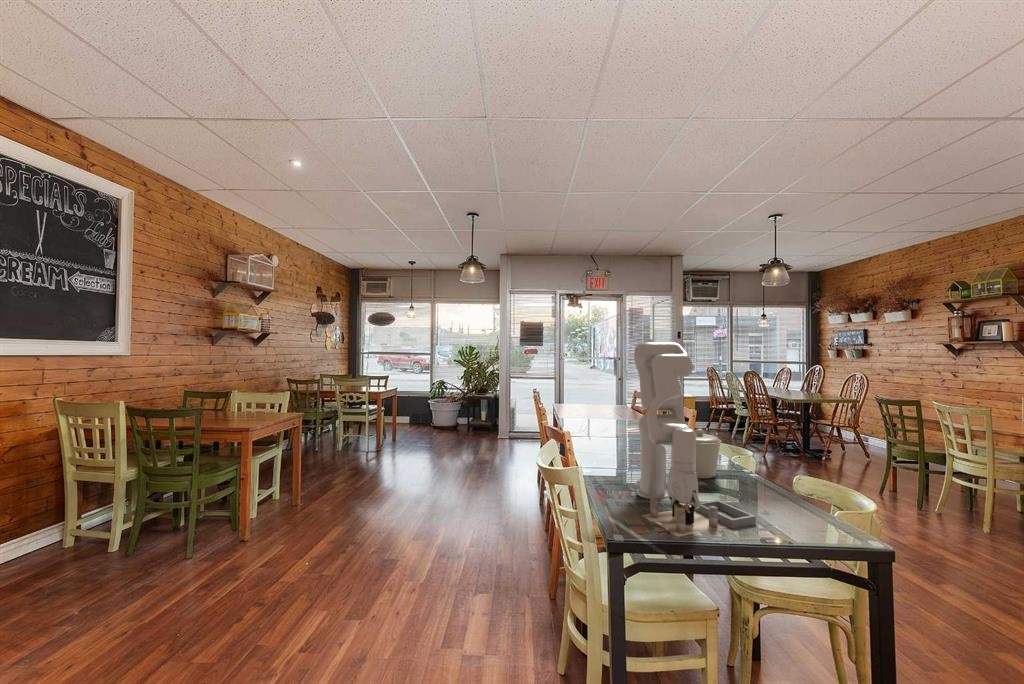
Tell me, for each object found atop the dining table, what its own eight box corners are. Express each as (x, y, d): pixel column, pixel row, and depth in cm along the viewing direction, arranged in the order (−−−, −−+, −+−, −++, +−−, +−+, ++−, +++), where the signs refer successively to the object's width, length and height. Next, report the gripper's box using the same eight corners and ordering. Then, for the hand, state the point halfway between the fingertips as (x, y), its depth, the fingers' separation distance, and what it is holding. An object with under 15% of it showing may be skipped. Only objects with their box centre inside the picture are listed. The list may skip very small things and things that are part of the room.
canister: (695, 483, 197) (695, 434, 196) (669, 471, 214) (670, 426, 214) (730, 479, 202) (731, 431, 201) (702, 468, 219) (703, 424, 219)
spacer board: (641, 518, 158) (641, 497, 158) (687, 510, 165) (687, 491, 165) (677, 539, 142) (677, 517, 141) (727, 530, 149) (727, 508, 149)
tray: (695, 513, 163) (696, 503, 163) (717, 509, 167) (718, 500, 167) (732, 531, 148) (732, 520, 148) (755, 526, 152) (755, 516, 152)
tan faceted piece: (670, 519, 155) (670, 504, 155) (684, 517, 157) (684, 502, 157) (681, 525, 150) (681, 509, 150) (695, 522, 152) (695, 507, 152)
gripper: (657, 460, 160) (656, 512, 160) (693, 474, 144) (692, 532, 144) (674, 458, 163) (674, 509, 163) (711, 471, 147) (711, 528, 147)
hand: (682, 519), depth 153 cm, fingers open, 5 cm apart
